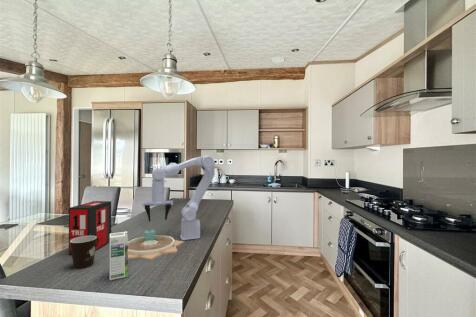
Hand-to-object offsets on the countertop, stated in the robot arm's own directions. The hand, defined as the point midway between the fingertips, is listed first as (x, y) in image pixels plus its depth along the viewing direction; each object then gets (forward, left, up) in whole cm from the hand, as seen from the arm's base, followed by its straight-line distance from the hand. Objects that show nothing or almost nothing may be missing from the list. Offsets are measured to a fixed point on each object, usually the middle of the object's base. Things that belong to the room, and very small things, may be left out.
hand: (157, 220), depth 119 cm
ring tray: (+4, +8, -10) cm, 14 cm away
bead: (+4, +2, -10) cm, 10 cm away
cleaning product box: (+29, -2, -11) cm, 31 cm away
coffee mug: (+27, +17, -11) cm, 33 cm away
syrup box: (+15, +32, -11) cm, 37 cm away
